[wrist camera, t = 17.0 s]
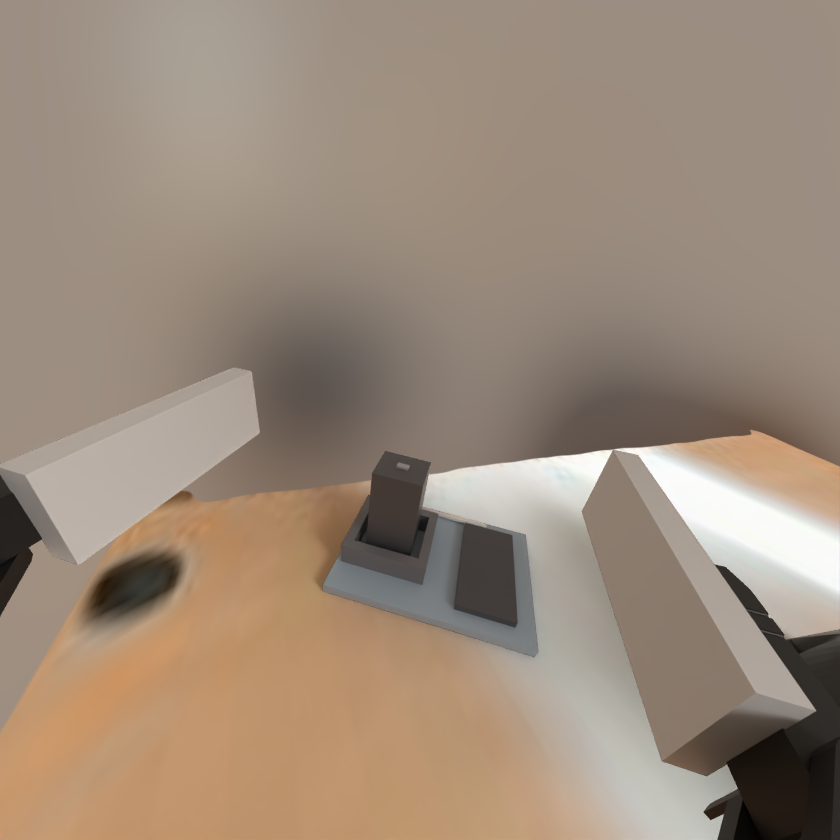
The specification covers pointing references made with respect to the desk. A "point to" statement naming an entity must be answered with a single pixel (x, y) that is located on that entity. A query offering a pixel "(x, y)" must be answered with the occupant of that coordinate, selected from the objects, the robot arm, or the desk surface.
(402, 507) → the brick
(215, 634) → the desk surface
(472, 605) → the charging dock
